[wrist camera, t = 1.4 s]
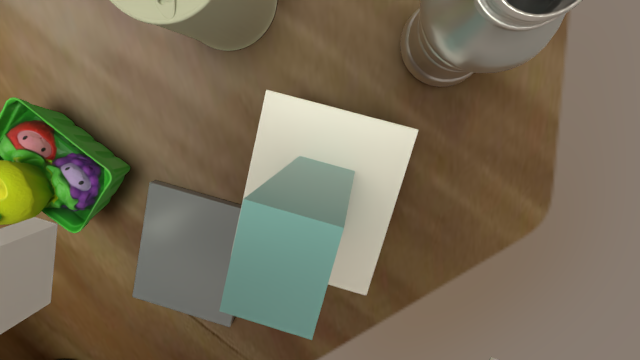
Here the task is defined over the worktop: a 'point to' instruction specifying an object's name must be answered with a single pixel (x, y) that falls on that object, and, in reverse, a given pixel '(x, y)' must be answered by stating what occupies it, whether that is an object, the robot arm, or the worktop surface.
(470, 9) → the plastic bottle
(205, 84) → the worktop surface
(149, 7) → the can
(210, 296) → the plate
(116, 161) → the fruit basket
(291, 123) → the lid
